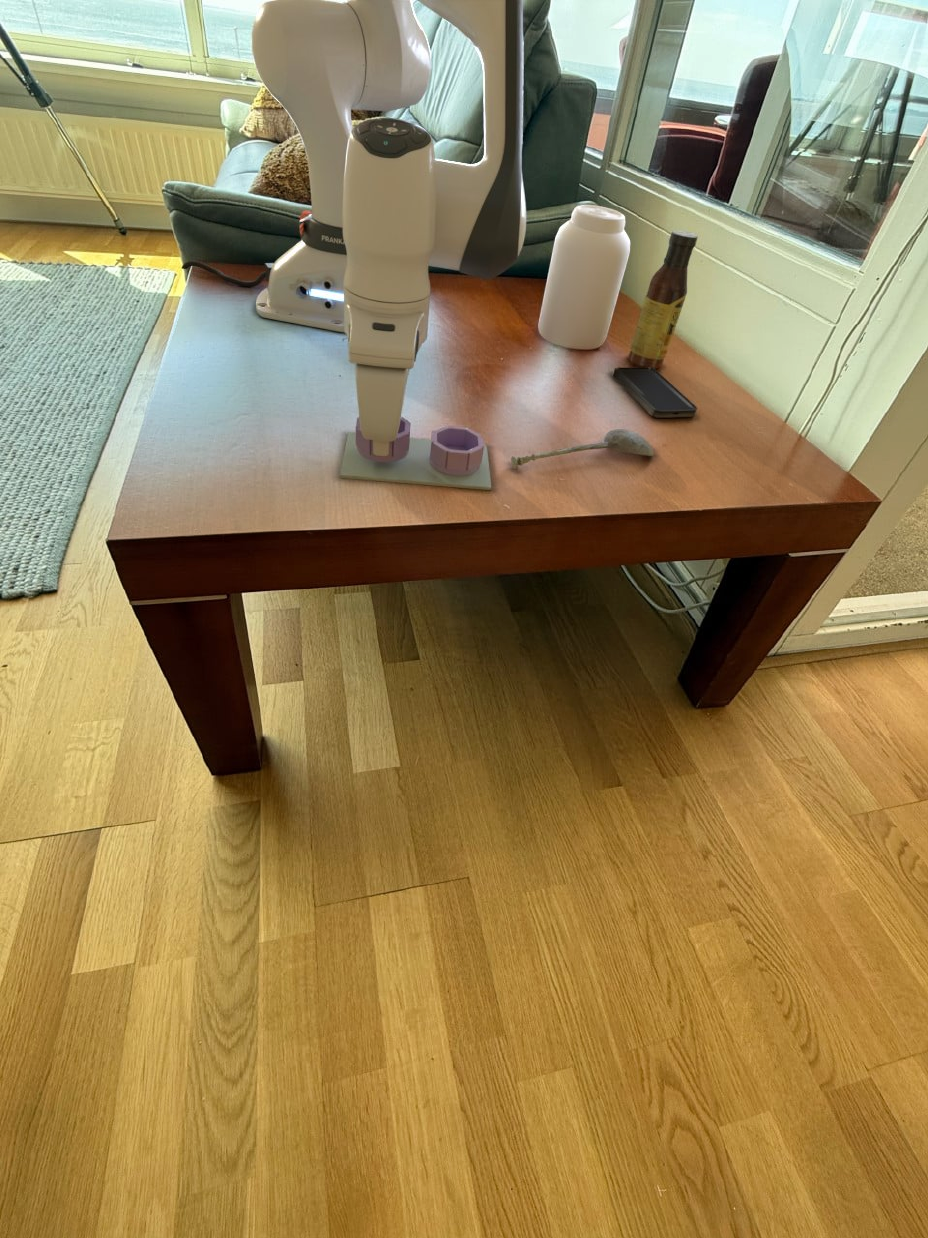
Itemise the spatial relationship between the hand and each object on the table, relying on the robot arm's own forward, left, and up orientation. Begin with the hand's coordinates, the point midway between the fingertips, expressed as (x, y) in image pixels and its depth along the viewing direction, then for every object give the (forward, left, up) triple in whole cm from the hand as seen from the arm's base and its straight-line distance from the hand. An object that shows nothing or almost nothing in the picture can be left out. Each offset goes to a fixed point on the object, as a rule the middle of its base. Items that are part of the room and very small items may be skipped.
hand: (382, 436), depth 76 cm
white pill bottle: (+31, +47, -3) cm, 57 cm away
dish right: (+9, 0, -3) cm, 9 cm away
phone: (+41, +26, -3) cm, 49 cm away
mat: (+4, 0, -3) cm, 5 cm away
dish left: (0, 0, -2) cm, 2 cm away
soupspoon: (+26, +5, -3) cm, 27 cm away
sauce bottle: (+43, +39, -3) cm, 58 cm away
